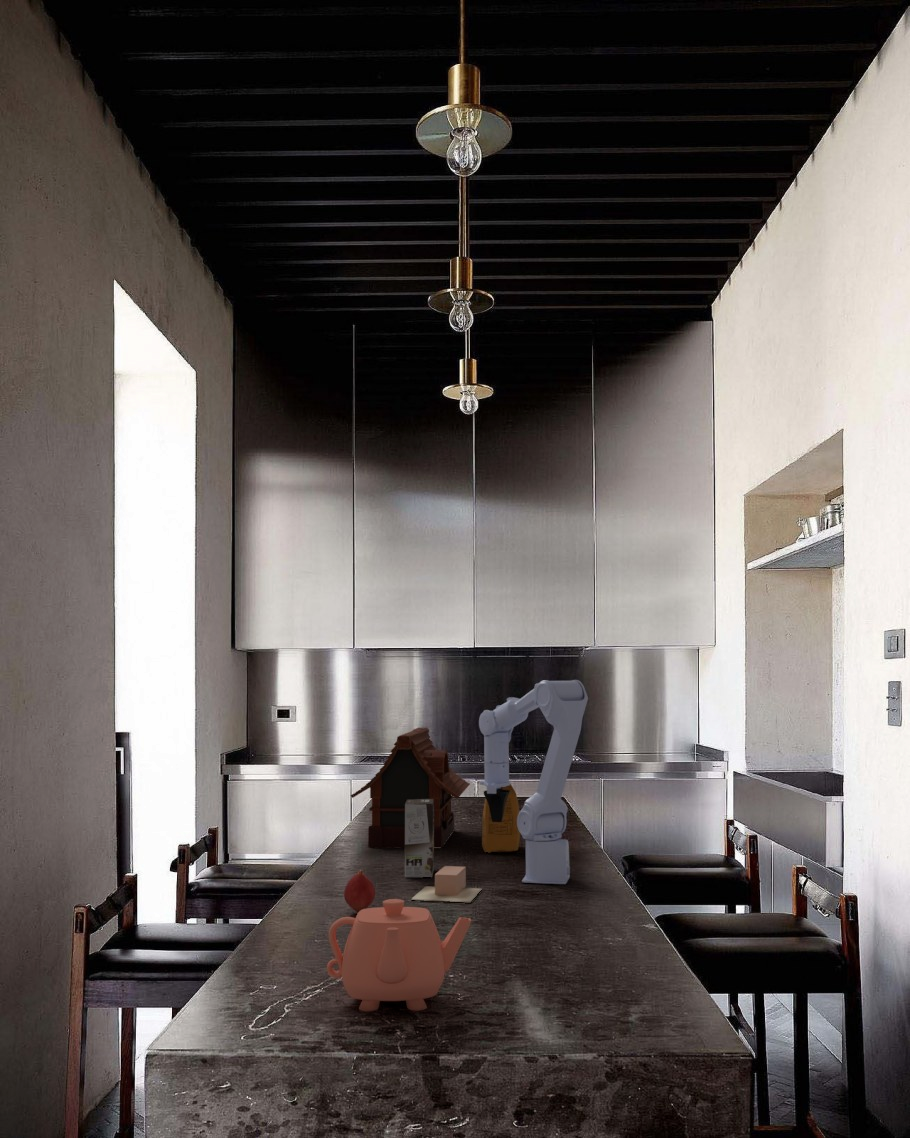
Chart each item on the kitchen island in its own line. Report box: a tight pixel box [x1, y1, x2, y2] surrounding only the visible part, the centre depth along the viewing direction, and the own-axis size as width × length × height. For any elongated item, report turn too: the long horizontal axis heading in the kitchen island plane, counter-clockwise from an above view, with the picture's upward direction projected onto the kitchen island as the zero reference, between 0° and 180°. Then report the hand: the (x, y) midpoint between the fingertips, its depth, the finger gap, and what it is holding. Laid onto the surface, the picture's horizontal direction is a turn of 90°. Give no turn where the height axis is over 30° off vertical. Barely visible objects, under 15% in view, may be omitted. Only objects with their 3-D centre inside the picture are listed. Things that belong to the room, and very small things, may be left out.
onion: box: [343, 869, 376, 914], centre depth 192 cm, size 6×6×8 cm
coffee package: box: [481, 783, 521, 854], centre depth 258 cm, size 10×12×22 cm
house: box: [350, 727, 471, 849], centre depth 277 cm, size 35×28×29 cm
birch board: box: [410, 885, 483, 902], centre depth 205 cm, size 12×12×1 cm
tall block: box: [434, 865, 467, 896], centre depth 209 cm, size 4×4×9 cm
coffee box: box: [404, 799, 435, 878], centre depth 229 cm, size 9×6×16 cm
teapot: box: [326, 898, 472, 1012], centre depth 141 cm, size 16×17×14 cm
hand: (497, 821), depth 235 cm, fingers closed
